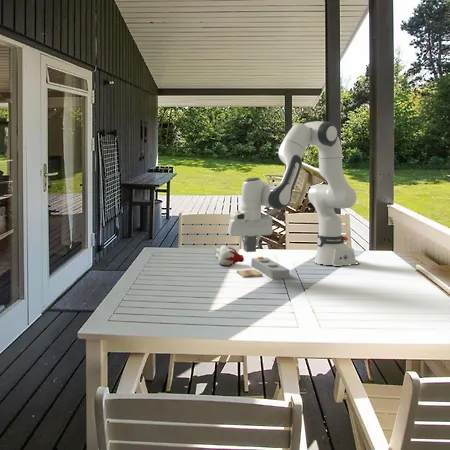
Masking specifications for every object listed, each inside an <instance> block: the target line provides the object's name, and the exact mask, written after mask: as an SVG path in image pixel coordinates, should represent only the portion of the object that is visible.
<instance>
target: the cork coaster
mask: <svg viewBox="0 0 450 450" xmlns="http://www.w3.org/2000/svg"><path fill="white" fill-rule="evenodd" d="M236 274H238V275H239V276H240V277H242V278H260V277H263V273H262V272H260V271H259V270H257V269H244V270H242V269H241V270H236Z"/></svg>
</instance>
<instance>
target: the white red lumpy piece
mask: <svg viewBox="0 0 450 450" xmlns="http://www.w3.org/2000/svg"><path fill="white" fill-rule="evenodd" d="M214 250H215V251H214V258H215V259H217V261H218V263H219V264H220V265H222V266H227V267H230V266H233V265H234V264H237V263H244V261H245V258H244V255H242V254H239V253H238V251H237V250H236V249H235V248H232V247H230V246H227V245H225V244H224V245H221V246H220V248H219V247H217V248H214Z"/></svg>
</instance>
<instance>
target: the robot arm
mask: <svg viewBox="0 0 450 450" xmlns="http://www.w3.org/2000/svg"><path fill="white" fill-rule="evenodd" d="M308 145H311V146H317V148H318V173H319V175H320V176H321V177H322V178H323V179H324V180H325V181H326V182H327V184H323V183H319V184H315V185H311V186H310V188H309V189H308V192H307V197H308V201H309V203H311V204H312V206H313V207H314V209H315V211H316V214H317V217H318V234H317V238H316V239H317V241H316V242H317V243H316V245H317V249H316V253H315V258H314V260H313V262H315V264H316V263H317V265H320V264H323V265H322V266H326V265H334V266H341V265H349V264H356V263H360V261H359V260H358V259H356V254H355V251H354V250H353V249H352V248H351V247H349V246H348V245H347V244H346V243H345V241H346V242H347V241H349V237H348V236H343V235H342V227H343V225H342V224H343V223H342V222H343V221H342V218H341V217H340V216H339V215H337V213H336V211H335V209H343V210H344V209H351V208H352V207H353V206H354V205H355V204H356V203H357V202H356V201H357V193H356V190H355V189H354V188H352V186H351V185H349V183H348V181H347V179H346V177H345V173H344V168H343V153H342V145H341V140H340V137H339V131H338V127H337V125H336V124H335V123H333V122H331V121H321V120H320V121H319V120H315V121H305V122H302V123H296V124H294V125H293V126H292V127H291V128H290V130H288V131H287V134H286V135H285V137H284V139H283V140H282V141H281V143H280V146H279V149H278V158H279V160H280V161H281V162H282V163H283V164H284V165H285V171H284V173H283V175H282V179H281V181H280V182H279V184H278V185H276V186H275V185H270V184H268V183H266V182H264V181H263V180H261V178H260V177H248V178H246V179H244V181H243V182H242V186H241V202H242V203H241V206H240V207H241V208H240V210H237V211H233V212H231V213H230V219H229V222H228V227H227V234H228V235H229V236H230V237H239V239H240V242H241V246H243V247H244V246H246V242H245V241H244V236H248V235H255V236H256V246H258V245H259V241H260V240H261V237H262V236H271V235H272V234H273V216H272V215H271V214H269V213H268V214H262V206H263V207H267V208H272V209H275V210H278V211H283V210H284V209H287V207H288V206H289V205H290V204H291V201H292V196H293V195H292V194H293V191H294V188H295V185H296V182H297V180H298V177H299V175H300V172H301V169H302V166H303V159H302V158H303V156H304V154H305V152H306V150H307V148H308ZM334 266H333V267H334ZM349 266H350V265H349ZM341 267H342V266H341Z"/></svg>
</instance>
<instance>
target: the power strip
mask: <svg viewBox="0 0 450 450" xmlns="http://www.w3.org/2000/svg"><path fill="white" fill-rule="evenodd" d="M251 267H253V269H254V270H257V271H258V272H260V273H261V274H262V275H263V274H264V275H265V276H267V277H268V278H270V279H271V280H280V279H290V269H288V268H287V267H286V266H283V265H281V264H280V263H278V262H276V261H274V260H272V259H271V258H268V257H263V256H257V257H256V258H255V257H254V258H251Z"/></svg>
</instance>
